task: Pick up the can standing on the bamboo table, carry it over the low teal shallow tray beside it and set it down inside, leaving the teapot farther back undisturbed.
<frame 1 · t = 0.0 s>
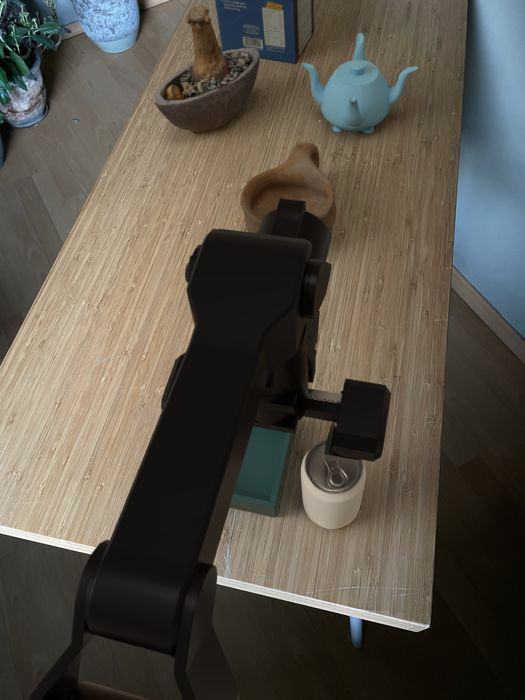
hand: (280, 441, 57), 13 cm above the table, tool pointing down, fingers open, 9 cm apart
teal shallow tray: (240, 461, 70), on the table
protein box: (268, 43, 114), on the table
teapot: (355, 120, 100), on the table
bowl: (292, 220, 90), on the table
planter: (216, 120, 103), on the table
can: (331, 502, 67), on the table
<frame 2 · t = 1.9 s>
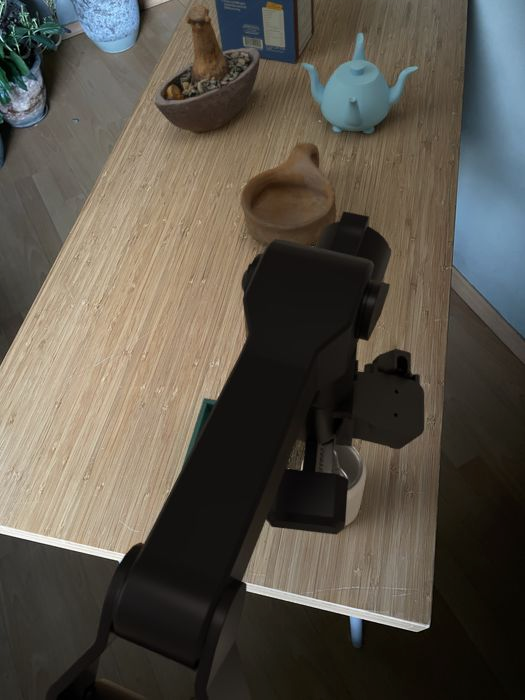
hand: (315, 452, 57), 13 cm above the table, tool pointing down, fingers open, 9 cm apart
nothing on the table moved.
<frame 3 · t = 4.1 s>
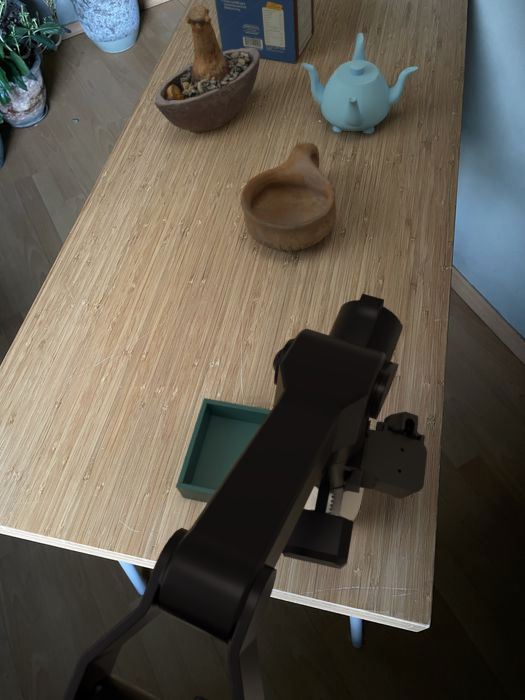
hand: (329, 487, 64), 4 cm above the table, tool pointing down, fingers closed on can, 8 cm apart
can: (331, 502, 67), on the table, touching gripper
everything else where it was.
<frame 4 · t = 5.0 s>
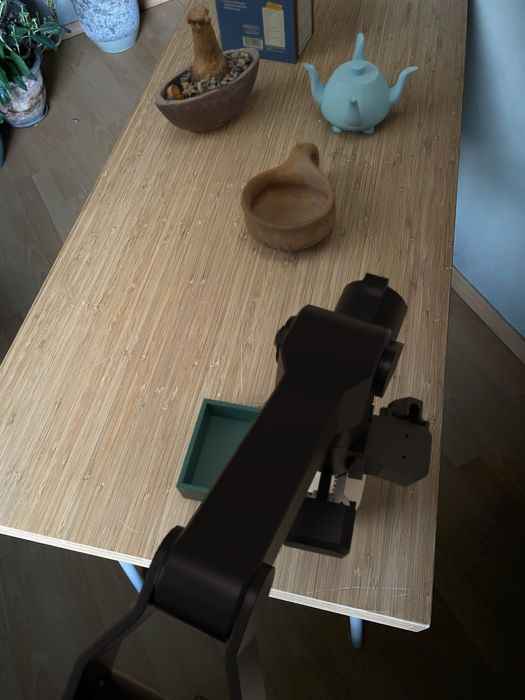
hand: (330, 478, 62), 7 cm above the table, tool pointing down, fingers closed on can, 7 cm apart
can: (331, 495, 66), point 2 cm above the table, touching gripper
everything else where it was.
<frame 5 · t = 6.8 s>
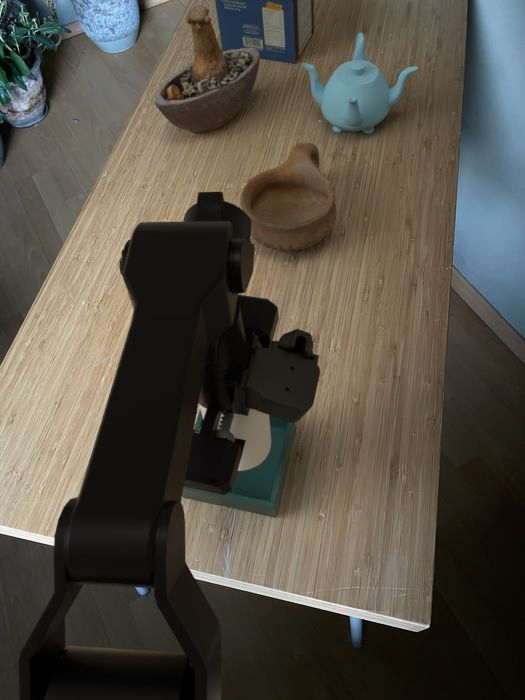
hand: (234, 424, 60), 12 cm above the table, tool pointing down, fingers closed on can, 7 cm apart
can: (241, 445, 64), point 7 cm above the table, touching gripper
everything else where it was.
when the fingers open (5 cm above the table, at t = 8.7 s): can stays where it is, resting on teal shallow tray.
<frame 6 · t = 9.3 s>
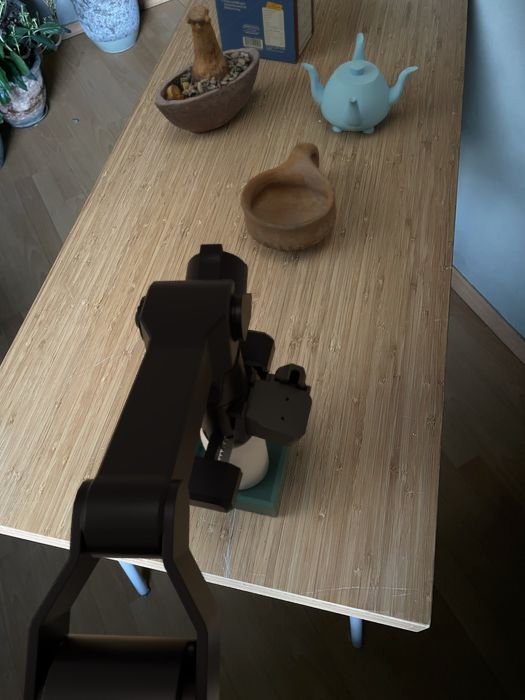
hand: (235, 444, 66), 5 cm above the table, tool pointing down, fingers open, 9 cm apart
can: (242, 464, 70), resting on teal shallow tray
everything else where it was.
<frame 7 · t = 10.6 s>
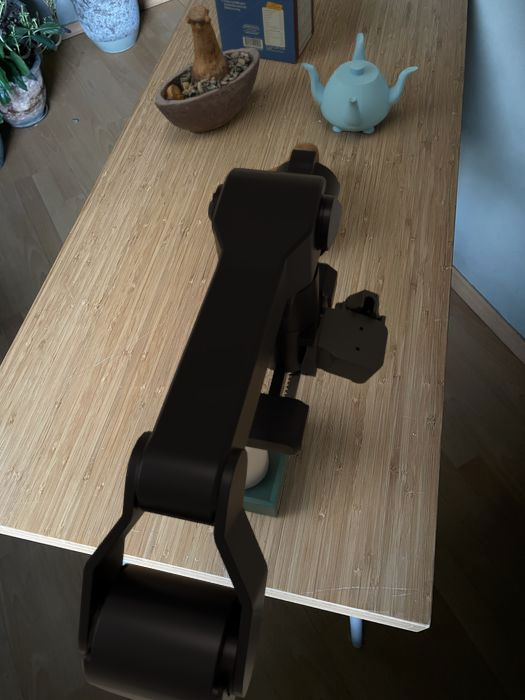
hand: (291, 391, 60), 13 cm above the table, tool pointing down, fingers open, 9 cm apart
nothing on the table moved.
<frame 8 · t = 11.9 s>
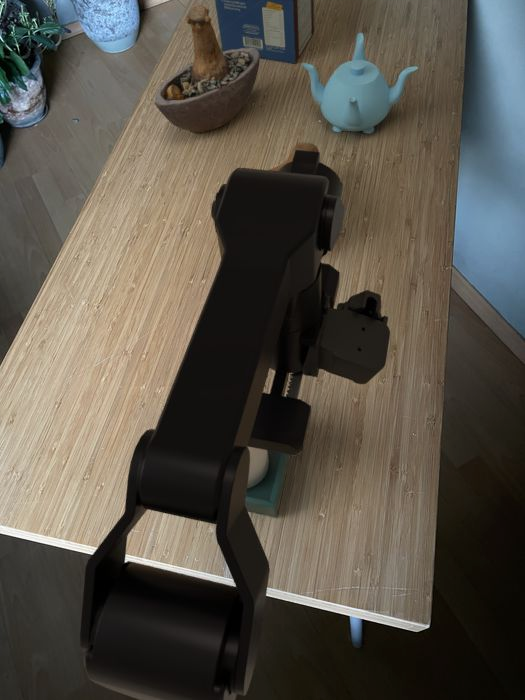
hand: (292, 391, 60), 13 cm above the table, tool pointing down, fingers open, 9 cm apart
nothing on the table moved.
at the end: can inside the target area in the teal shallow tray (0.5 cm from its centre), point 0.3 cm above the teal shallow tray's base; can tilted 0°; teapot moved 0.2 cm from its start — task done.
